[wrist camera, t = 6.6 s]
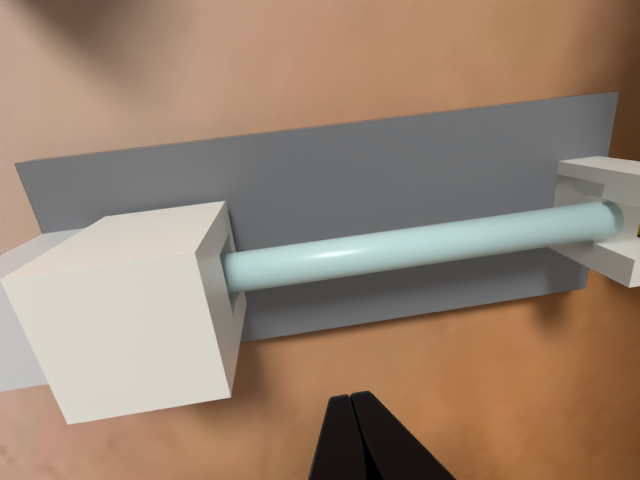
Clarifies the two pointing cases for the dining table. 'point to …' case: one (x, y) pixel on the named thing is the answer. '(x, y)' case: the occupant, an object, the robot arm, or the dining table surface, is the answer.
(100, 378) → the white square tube
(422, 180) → the linear slide rail
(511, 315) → the dining table surface
